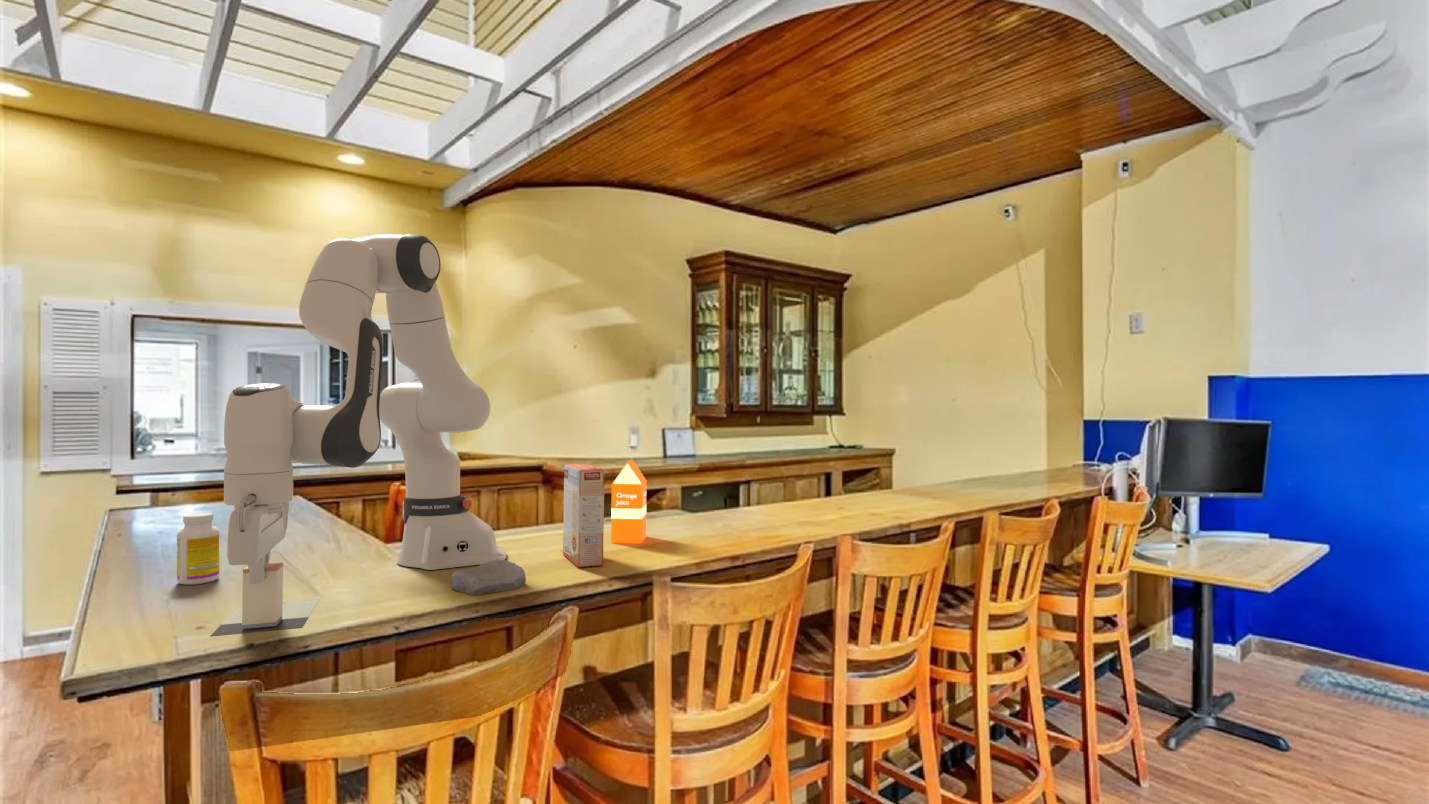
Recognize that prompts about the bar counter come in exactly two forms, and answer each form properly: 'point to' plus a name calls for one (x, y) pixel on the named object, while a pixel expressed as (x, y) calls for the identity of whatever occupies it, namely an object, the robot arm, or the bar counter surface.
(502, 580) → the stone block
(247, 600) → the pillar block
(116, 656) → the bar counter surface
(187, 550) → the supplement bottle
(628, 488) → the orange juice
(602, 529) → the cracker box
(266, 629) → the bar mat
